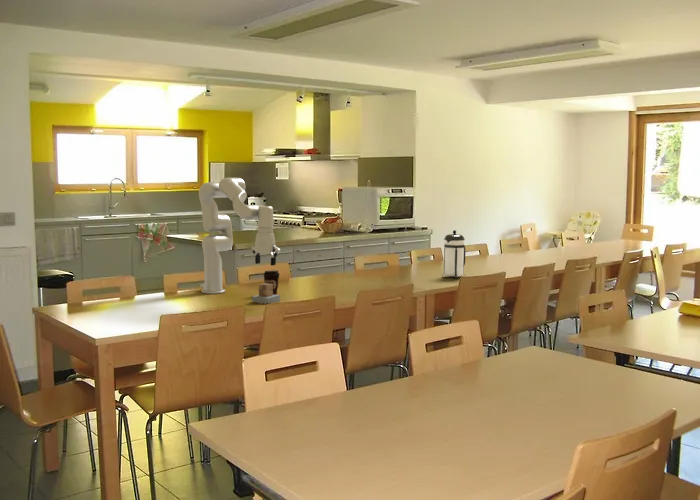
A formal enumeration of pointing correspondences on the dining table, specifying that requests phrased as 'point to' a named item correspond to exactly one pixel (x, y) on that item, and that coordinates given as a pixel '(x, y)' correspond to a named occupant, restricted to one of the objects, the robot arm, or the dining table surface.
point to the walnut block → (265, 290)
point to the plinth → (266, 299)
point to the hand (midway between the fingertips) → (265, 264)
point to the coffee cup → (272, 279)
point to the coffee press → (454, 255)
